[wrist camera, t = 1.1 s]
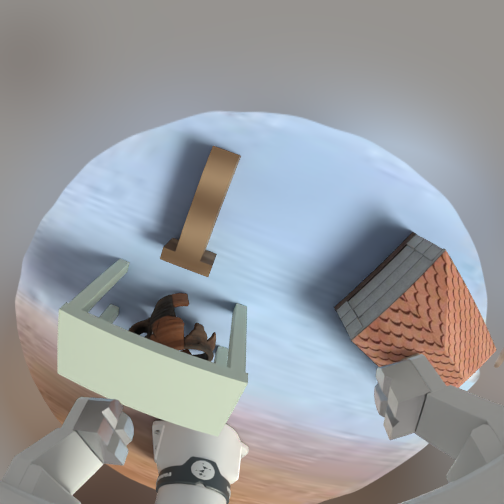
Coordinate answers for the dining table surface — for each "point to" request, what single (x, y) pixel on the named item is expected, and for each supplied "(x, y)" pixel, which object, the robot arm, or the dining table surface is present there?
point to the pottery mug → (175, 328)
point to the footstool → (149, 363)
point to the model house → (418, 313)
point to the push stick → (203, 215)
